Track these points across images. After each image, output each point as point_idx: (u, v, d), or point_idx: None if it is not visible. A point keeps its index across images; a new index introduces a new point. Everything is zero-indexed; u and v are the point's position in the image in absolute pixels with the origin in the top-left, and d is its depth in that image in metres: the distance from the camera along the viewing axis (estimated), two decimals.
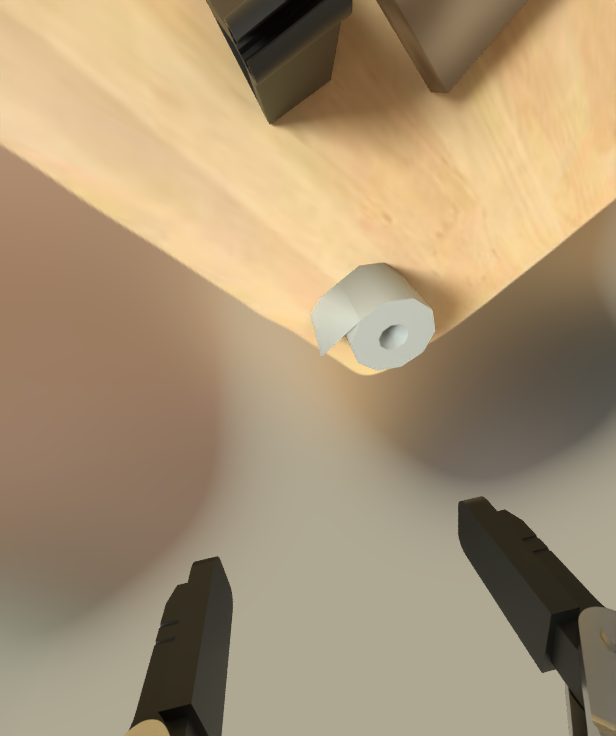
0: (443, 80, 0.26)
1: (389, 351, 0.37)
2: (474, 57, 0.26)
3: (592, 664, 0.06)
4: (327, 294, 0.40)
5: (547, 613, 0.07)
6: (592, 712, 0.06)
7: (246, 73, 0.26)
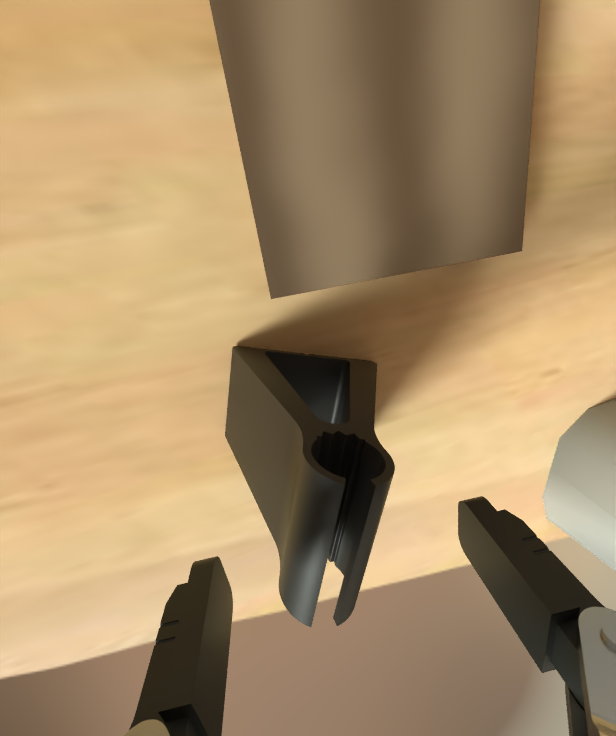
0: (504, 251, 0.17)
1: None
2: (521, 194, 0.16)
3: (592, 664, 0.06)
4: (549, 492, 0.27)
5: (547, 613, 0.07)
6: (592, 712, 0.06)
7: None
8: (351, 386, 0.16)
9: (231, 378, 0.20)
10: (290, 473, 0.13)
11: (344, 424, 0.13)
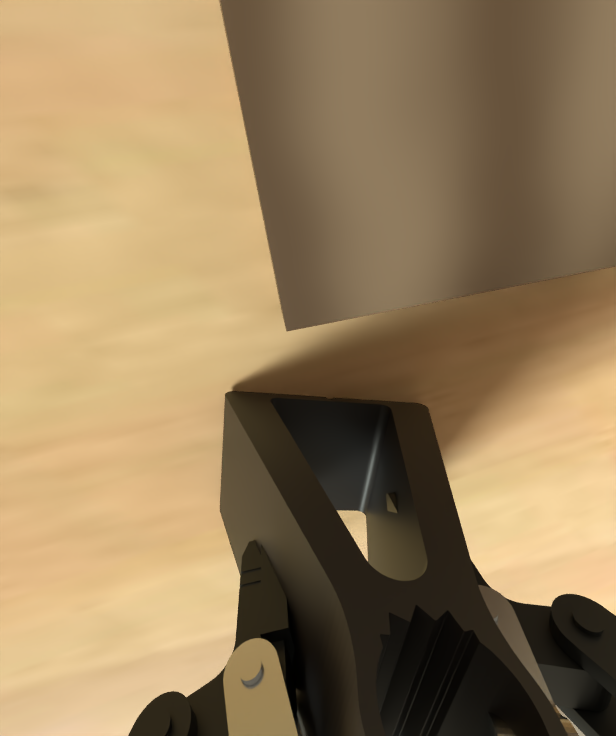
0: None
1: None
2: None
3: None
4: None
5: None
6: None
7: None
8: (406, 463, 0.10)
9: (224, 437, 0.14)
10: (323, 673, 0.07)
11: (422, 580, 0.07)
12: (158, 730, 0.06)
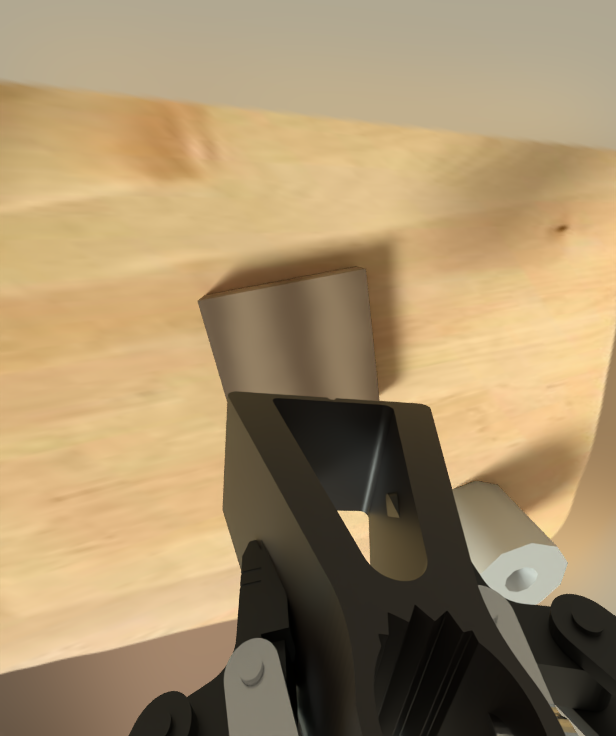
0: None
1: (531, 587, 0.32)
2: (375, 389, 0.29)
3: None
4: None
5: None
6: None
7: None
8: (408, 464, 0.10)
9: (227, 437, 0.14)
10: (322, 672, 0.07)
11: (422, 581, 0.07)
12: (159, 729, 0.06)
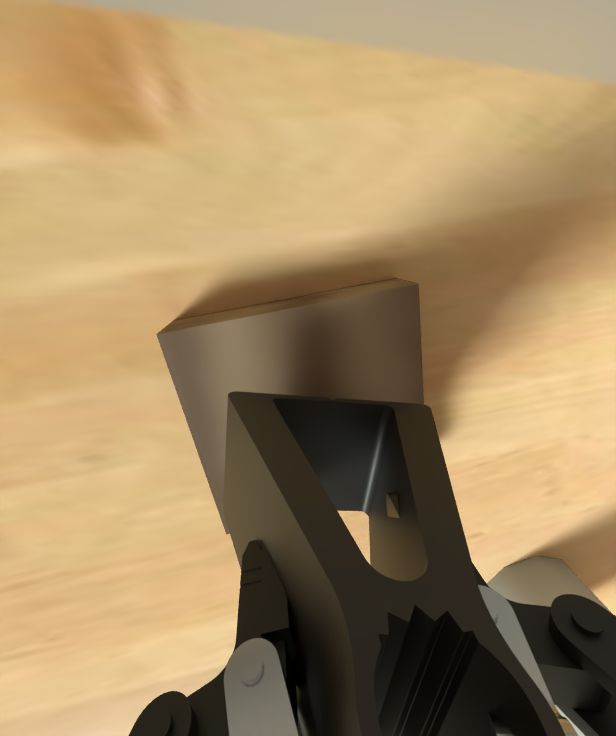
0: None
1: None
2: None
3: None
4: None
5: None
6: None
7: None
8: (408, 464, 0.10)
9: (227, 437, 0.14)
10: (322, 672, 0.07)
11: (422, 581, 0.07)
12: (159, 729, 0.06)
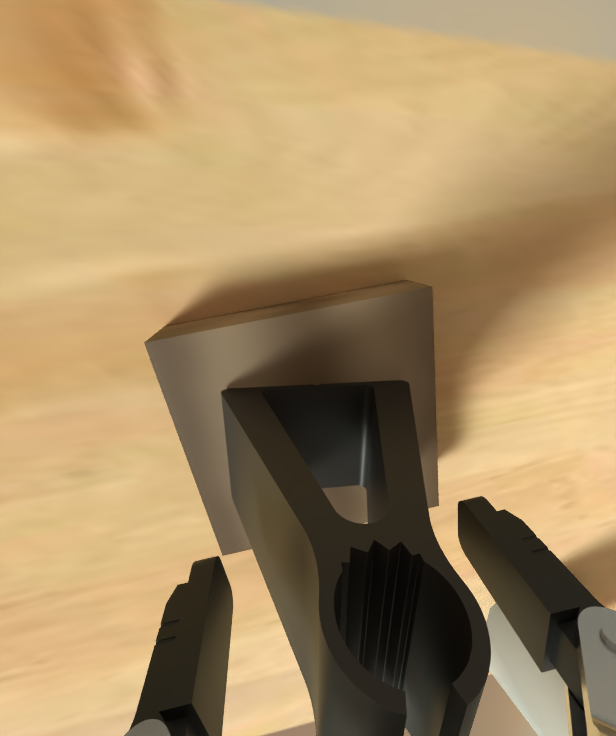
0: None
1: None
2: (433, 471, 0.19)
3: (591, 664, 0.06)
4: None
5: (546, 613, 0.07)
6: (592, 712, 0.06)
7: (332, 484, 0.18)
8: (382, 433, 0.12)
9: (226, 430, 0.15)
10: (309, 605, 0.08)
11: (382, 522, 0.08)
12: None
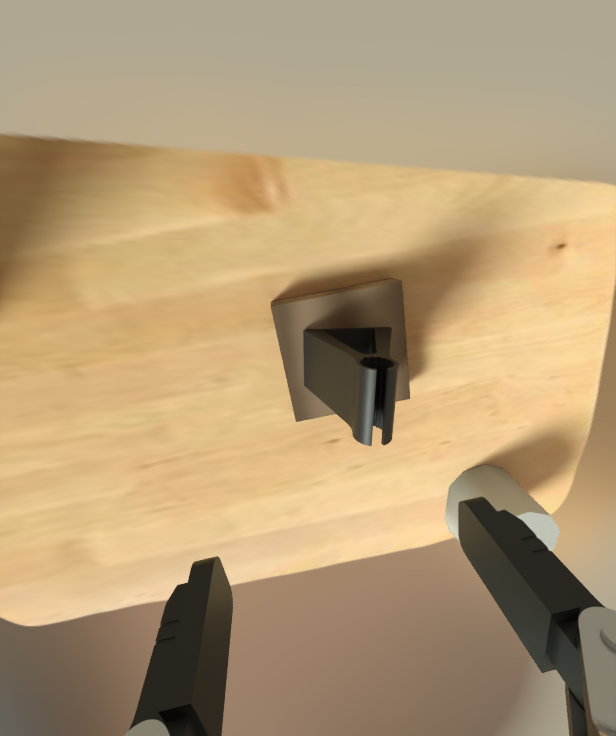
0: (401, 399, 0.37)
1: None
2: (406, 377, 0.36)
3: (592, 664, 0.06)
4: (446, 516, 0.47)
5: (547, 613, 0.07)
6: (592, 712, 0.06)
7: None
8: (376, 339, 0.29)
9: (304, 349, 0.33)
10: (350, 381, 0.26)
11: (374, 354, 0.25)
12: None
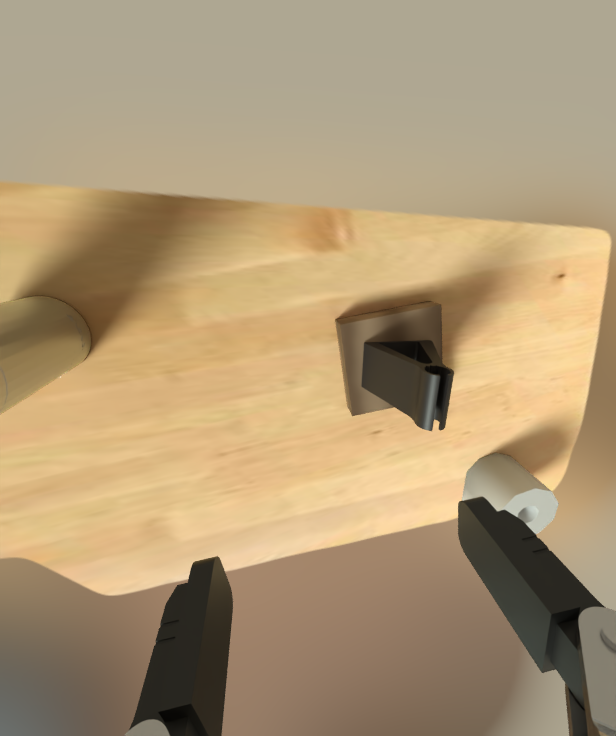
0: None
1: (534, 520, 0.49)
2: None
3: (592, 664, 0.06)
4: (464, 497, 0.56)
5: (547, 613, 0.07)
6: (592, 712, 0.06)
7: None
8: (426, 351, 0.38)
9: (364, 357, 0.42)
10: (414, 384, 0.34)
11: (431, 363, 0.34)
12: None
